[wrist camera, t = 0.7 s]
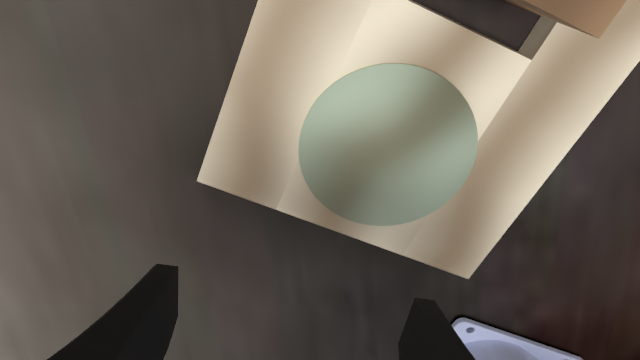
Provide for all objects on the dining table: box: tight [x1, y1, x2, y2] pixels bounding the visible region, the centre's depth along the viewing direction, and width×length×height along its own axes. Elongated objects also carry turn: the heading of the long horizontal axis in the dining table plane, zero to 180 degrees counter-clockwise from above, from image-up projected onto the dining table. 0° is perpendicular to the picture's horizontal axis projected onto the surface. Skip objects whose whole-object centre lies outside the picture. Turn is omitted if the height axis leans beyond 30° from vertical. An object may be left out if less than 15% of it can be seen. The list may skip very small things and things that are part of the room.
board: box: [197, 0, 640, 279], centre depth 19 cm, size 15×20×2 cm
